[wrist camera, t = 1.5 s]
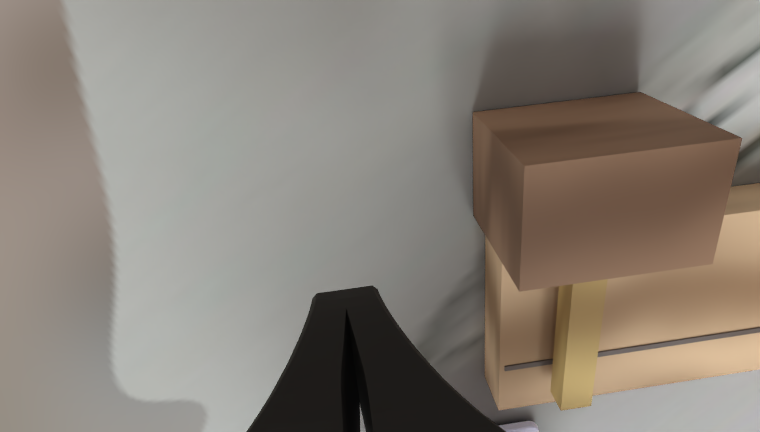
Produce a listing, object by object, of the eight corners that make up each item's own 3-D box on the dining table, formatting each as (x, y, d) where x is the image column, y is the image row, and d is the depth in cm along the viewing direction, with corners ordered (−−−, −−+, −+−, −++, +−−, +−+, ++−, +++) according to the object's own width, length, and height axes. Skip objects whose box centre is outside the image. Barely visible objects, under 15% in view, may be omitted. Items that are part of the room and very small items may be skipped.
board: (916, 310, 26) (962, 338, 24) (484, 376, 24) (499, 411, 22) (989, 152, 22) (1051, 171, 20) (485, 219, 21) (502, 246, 19)
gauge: (606, 337, 24) (674, 427, 20) (474, 357, 24) (512, 453, 19) (640, 92, 19) (742, 138, 14) (472, 112, 18) (524, 166, 14)
